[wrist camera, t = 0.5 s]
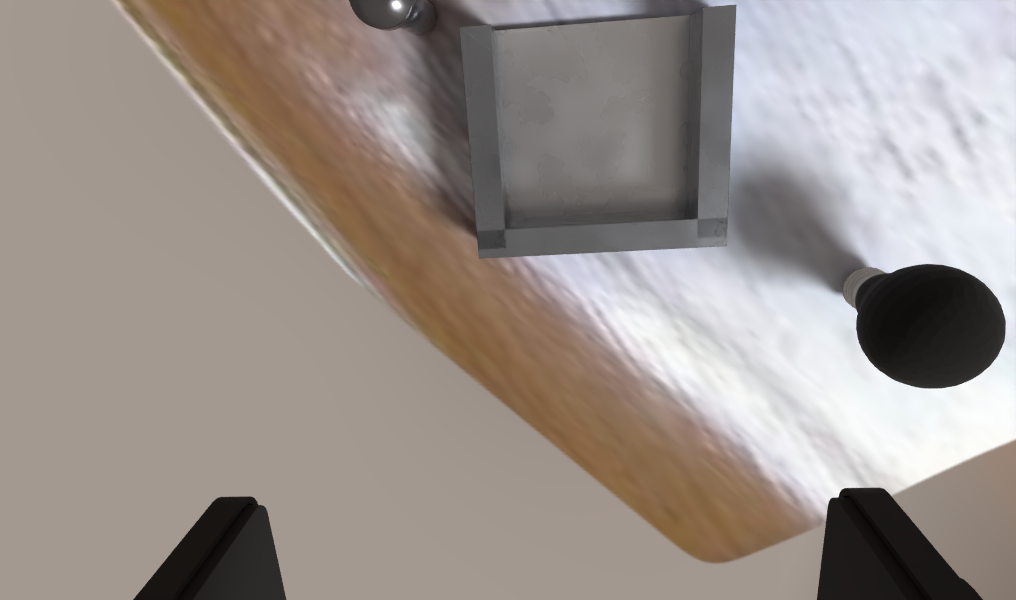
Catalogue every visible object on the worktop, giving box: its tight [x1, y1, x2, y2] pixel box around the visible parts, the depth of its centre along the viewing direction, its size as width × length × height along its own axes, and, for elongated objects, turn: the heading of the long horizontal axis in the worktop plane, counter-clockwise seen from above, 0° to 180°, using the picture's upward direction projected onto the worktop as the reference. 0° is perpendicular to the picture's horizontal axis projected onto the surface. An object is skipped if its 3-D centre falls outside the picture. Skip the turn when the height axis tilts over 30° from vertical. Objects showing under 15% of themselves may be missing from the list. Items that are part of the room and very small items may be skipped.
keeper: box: [400, 0, 736, 259], centre depth 31 cm, size 13×16×7 cm
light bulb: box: [843, 264, 1006, 388], centre depth 32 cm, size 6×6×10 cm
